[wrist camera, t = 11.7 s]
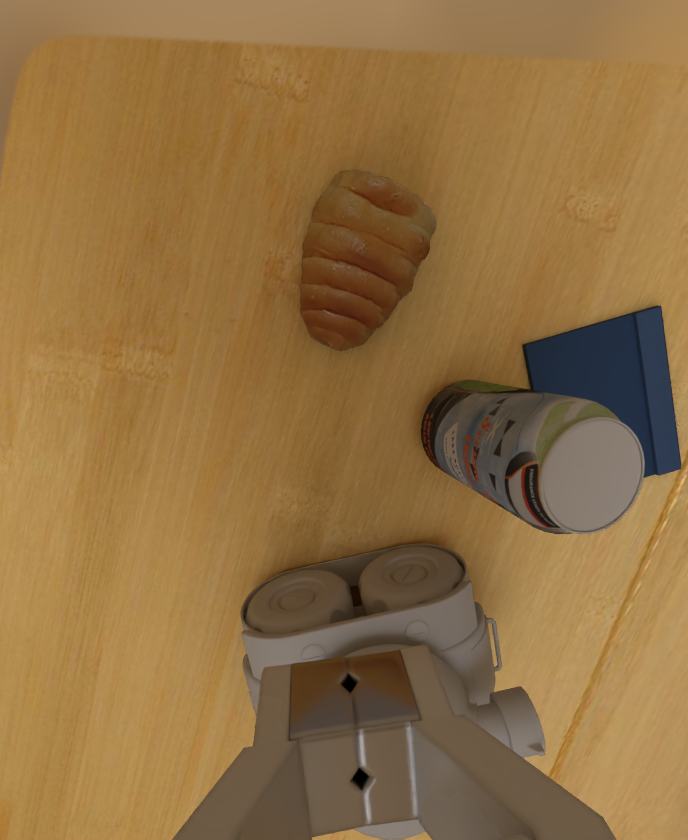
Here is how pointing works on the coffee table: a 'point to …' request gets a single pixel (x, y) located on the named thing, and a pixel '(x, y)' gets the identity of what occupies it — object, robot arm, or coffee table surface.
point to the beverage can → (536, 454)
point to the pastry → (361, 256)
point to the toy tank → (390, 635)
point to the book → (616, 378)
